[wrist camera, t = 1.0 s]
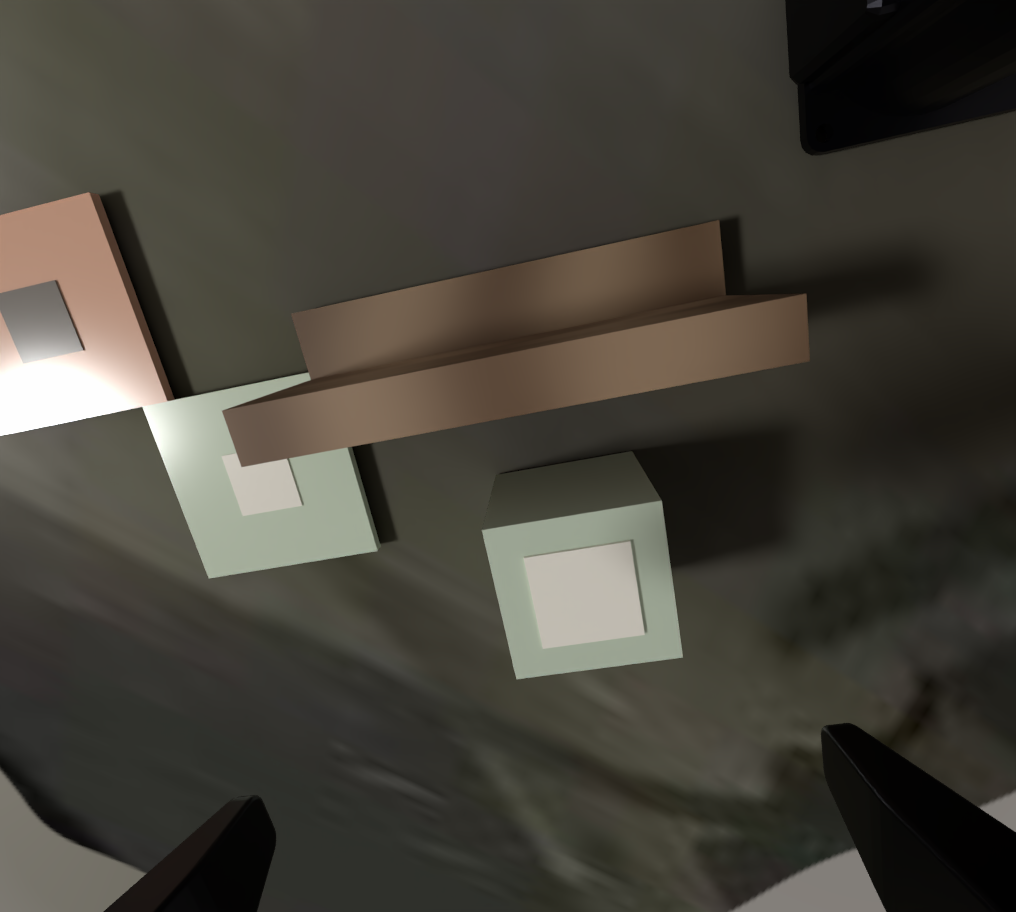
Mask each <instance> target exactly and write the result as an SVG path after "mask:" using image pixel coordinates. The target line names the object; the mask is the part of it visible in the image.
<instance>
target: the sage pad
mask: <svg viewBox="0 0 1016 912" xmlns="http://www.w3.org/2000/svg"><path fill="white" fill-rule="evenodd" d="M309 380H311V379H310V375H309V372H306V373H301V374H297V375H292V376H287V377H282V378H277V379H272V380H267V381H262V382H258V383H253V384H248V385H243V386H238V387H233V388H228V389H223V390H219V391H214V392H209V393H204V394H199V395H194V396H189V397H184V398H180V399H175V400H171V401H167V402H162V403H158V404H153V405H148V406H143V410H144V412H145V415H146V418H147V420H148V423H149V425H150V428H151V430H152V433H153V436H154V438H155V441H156V443H157V446H158V448H159V451H160V454H161V456H162V459H163V461H164V464H165V467H166V469H167V472H168V474H169V477H170V479H171V482H172V485H173V487H174V490H175V492H176V495H177V497H178V500H179V503H180V505H181V508H182V510H183V513H184V516H185V518H186V521H187V523H188V526H189V528H190V531H191V534H192V536H193V539H194V541H195V544H196V547H197V549H198V552H199V554H200V557H201V559H202V562H203V565H204V567H205V570H206V572H207V575H208V577H209V578H214V577H220V576H226V575H233V574H239V573H245V572H251V571H257V570H263V569H269V568H276V567H282V566H288V565H294V564H300V563H306V562H312V561H319V560H325V559H331V558H337V557H343V556H349V555H355V554H361V553H368V552H374V551H378V549H379V548H380V543H379V539H378V536H377V532H376V529H375V525H374V522H373V519H372V515H371V512H370V508H369V505H368V501H367V498H366V494H365V491H364V487H363V484H362V480H361V477H360V474H359V470H358V467H357V463H356V460H355V456H354V453H353V449H352V447H347V448H342V449H337V450H331V451H326V452H320V453H315V454H310V455H304V456H299V457H294V458H288V459H283V460H278V461H272V462H267V463H262V464H256V465H251V466H246V467H241V464H240V461H239V459H238V456H237V453H236V450H235V447H234V444H233V441H232V438H231V436H230V433H229V430H228V427H227V424H226V421H225V418H224V415H223V413H222V410H225V409H228V408H231V407H234V406H237V405H240V404H243V403H245V402H248V401H251V400H254V399H257V398H260V397H263V396H266V395H269V394H272V393H274V392H277V391H280V390H283V389H286V388H289V387H292V386H295V385H298V384H300V383H303V382H306V381H309Z"/></svg>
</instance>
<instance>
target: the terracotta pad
mask: <svg viewBox="0 0 1016 912" xmlns="http://www.w3.org/2000/svg"><path fill="white" fill-rule="evenodd" d="M171 400H175V399H174V396H173V394H172V391H171V388H170V385H169V383H168V380H167V377H166V375H165V372H164V369H163V367H162V364H161V361H160V358H159V356H158V353H157V350H156V348H155V345H154V342H153V340H152V337H151V334H150V331H149V329H148V326H147V323H146V321H145V318H144V315H143V312H142V310H141V307H140V304H139V302H138V299H137V296H136V294H135V291H134V288H133V285H132V283H131V280H130V277H129V275H128V272H127V269H126V267H125V264H124V261H123V258H122V256H121V253H120V250H119V248H118V245H117V242H116V240H115V237H114V234H113V231H112V229H111V226H110V223H109V221H108V218H107V215H106V212H105V210H104V207H103V204H102V202H101V199H100V196H99V195H98V194H94V193H90V192H89V193H85V194H81V195H77V196H73V197H69V198H65V199H61V200H57V201H54V202H50V203H46V204H42V205H38V206H34V207H30V208H26V209H23V210H19V211H15V212H11V213H7V214H3V215H0V436H1V435H6V434H11V433H16V432H21V431H26V430H31V429H36V428H40V427H45V426H50V425H55V424H60V423H65V422H70V421H75V420H79V419H84V418H89V417H94V416H99V415H104V414H109V413H114V412H119V411H123V410H128V409H133V408H138V407H143V406H148V405H153V404H158V403H162V402H167V401H171Z"/></svg>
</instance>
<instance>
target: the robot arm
mask: <svg viewBox="0 0 1016 912" xmlns="http://www.w3.org/2000/svg"><path fill="white" fill-rule="evenodd" d="M785 2H786V20H787V38H788V56H789V74H790V78H791V79H792V80H793V81H794V82H795V83H796V84H798V103H799V122H800V141H801V145H802V148H803V149H804V151H805V152H806V153H808V154H810V155H822V154H826V153H831V152H835V151H839V150H844V149H848V148H853V147H857V146H861V145H866V144H870V143H875V142H879V141H883V140H888V139H892V138H897V137H901V136H905V135H910V134H914V133H919V132H923V131H927V130H932V129H936V128H941V127H945V126H949V125H954V124H958V123H963V122H967V121H971V120H976V119H980V118H985V117H989V116H993V115H998V114H1002V113H1006V112H1011V111H1015V110H1016V0H785ZM817 128H823V129H824V130H825V131H826V134H827V136H826V140H825V142H824V143H820V142H819V141H817V139H816V136H815V134H816V130H817ZM821 742H822V755H823V768H824V774H825V778H826V781H827V784H828V786H829V789H830V791H831V793H832V795H833V798H834V800H835V802H836V804H837V806H838V808H839V811H840V813H841V815H842V817H843V819H844V822H845V824H846V826H847V828H848V830H849V832H850V835H851V837H852V839H853V841H854V843H855V846H856V848H857V850H858V852H859V854H860V857H861V858H862V861H863V863H864V865H865V867H866V870H867V872H868V874H869V876H870V878H871V880H872V883H873V885H874V887H875V889H876V891H877V893H878V895H879V897H880V900H881V902H882V904H883V906H884V908H885V910H886V912H1016V832H1014V831H1013V830H1011V829H1010V828H1008V827H1007V826H1005V825H1004V824H1002V823H1001V822H999V821H998V820H996V819H995V818H993V817H992V816H990V815H989V814H987V813H986V812H984V811H983V810H981V809H980V808H978V807H977V806H975V805H974V804H972V803H971V802H969V801H968V800H966V799H965V798H963V797H962V796H960V795H959V794H958V793H956V792H955V791H953V790H952V789H950V788H949V787H947V786H946V785H944V784H943V783H941V782H940V781H938V780H937V779H935V778H934V777H932V776H931V775H929V774H928V773H926V772H925V771H923V770H922V769H920V768H919V767H917V766H916V765H914V764H913V763H911V762H910V761H908V760H907V759H905V758H904V757H902V756H901V755H899V754H898V753H896V752H895V751H893V750H892V749H890V748H889V747H887V746H886V745H884V744H883V743H881V742H880V741H878V740H877V739H875V738H874V737H872V736H871V735H869V734H868V733H866V732H865V731H863V730H862V729H860V728H859V727H857V726H856V725H853V724H851V723H843V724H834V725H826V726H824V727H823V728H822V731H821ZM275 846H276V831H275V828H274V826H273V823H272V821H271V819H270V817H269V814H268V812H267V810H266V807H265V805H264V803H263V801H262V799H261V798H260V797H259V796H258V795H250V796H242V797H236V798H234V799H232V800H230V801H229V802H228V803H227V804H226V805H224V806H223V807H222V808H221V809H220V810H219V811H218V812H216V813H215V814H214V815H213V816H212V817H211V818H210V819H208V820H207V821H206V822H205V823H204V824H203V825H202V826H201V827H199V828H198V829H197V830H196V831H195V832H194V833H193V834H191V835H190V836H189V837H188V838H187V839H186V840H185V841H183V842H182V843H181V844H180V845H179V846H178V847H177V848H175V849H174V850H173V851H172V852H171V853H170V854H169V855H167V856H166V857H165V858H164V859H163V860H162V861H161V862H159V863H158V864H157V865H156V866H155V867H154V868H153V869H152V870H150V871H149V872H148V873H147V874H146V875H145V876H144V877H142V878H141V879H140V880H139V881H138V882H137V883H136V884H134V885H133V886H132V887H131V888H130V889H129V890H128V891H127V892H125V893H124V894H123V895H122V896H121V897H120V898H119V899H117V900H116V901H115V902H114V903H113V904H112V905H110V906H109V907H108V908H107V909H106V910H105V911H104V912H257V910H258V906H259V903H260V899H261V896H262V892H263V889H264V885H265V882H266V878H267V875H268V871H269V868H270V864H271V861H272V857H273V854H274V850H275Z"/></svg>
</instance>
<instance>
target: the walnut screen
mask: <svg viewBox="0 0 1016 912" xmlns="http://www.w3.org/2000/svg"><path fill="white" fill-rule="evenodd" d="M291 315H292V319H293V322H294V325H295V329H296V332H297V335H298V339H299V342H300V345H301V349H302V352H303V355H304V359H305V362H306V365H307V369H308V372H309V375H310V379H311V380H309V381H306V382H303V383H300V384H298V385H295V386H292V387H289V388H286V389H283V390H280V391H277V392H274V393H272V394H269V395H266V396H263V397H260V398H257V399H254V400H251V401H248V402H245V403H243V404H240V405H237V406H234V407H231V408H228V409H225V410H222V413H223V415H224V418H225V421H226V424H227V427H228V430H229V433H230V436H231V438H232V441H233V444H234V447H235V450H236V453H237V456H238V459H239V461H240V464H241V467H246V466H251V465H256V464H262V463H267V462H272V461H278V460H283V459H288V458H294V457H299V456H304V455H310V454H315V453H320V452H326V451H331V450H337V449H342V448H347V447H353V446H358V445H363V444H369V443H374V442H379V441H385V440H390V439H395V438H401V437H406V436H411V435H417V434H422V433H428V432H433V431H438V430H444V429H449V428H454V427H460V426H465V425H470V424H476V423H481V422H486V421H492V420H497V419H502V418H508V417H513V416H519V415H524V414H529V413H535V412H540V411H545V410H551V409H556V408H561V407H567V406H572V405H577V404H583V403H588V402H593V401H599V400H604V399H610V398H615V397H620V396H626V395H631V394H636V393H642V392H647V391H652V390H658V389H663V388H668V387H674V386H679V385H684V384H690V383H695V382H700V381H706V380H711V379H717V378H722V377H727V376H733V375H738V374H743V373H749V372H754V371H759V370H765V369H770V368H775V367H781V366H786V365H791V364H797V363H802V362H808V361H810V353H809V334H808V315H807V296H806V294H766V295H726V290H725V279H724V268H723V257H722V246H721V235H720V224H719V220H717V221H713V222H708V223H704V224H699V225H695V226H690V227H685V228H681V229H676V230H672V231H667V232H663V233H658V234H653V235H649V236H644V237H640V238H635V239H631V240H626V241H621V242H617V243H612V244H608V245H603V246H599V247H594V248H589V249H585V250H580V251H576V252H571V253H567V254H562V255H557V256H553V257H548V258H544V259H539V260H535V261H530V262H525V263H521V264H516V265H512V266H507V267H503V268H498V269H494V270H489V271H484V272H480V273H475V274H471V275H466V276H462V277H457V278H452V279H448V280H443V281H439V282H434V283H430V284H425V285H420V286H416V287H411V288H407V289H402V290H398V291H393V292H388V293H384V294H379V295H375V296H370V297H366V298H361V299H356V300H352V301H347V302H343V303H338V304H334V305H329V306H324V307H320V308H315V309H311V310H306V311H302V312H297V313H293V314H291Z"/></svg>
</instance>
